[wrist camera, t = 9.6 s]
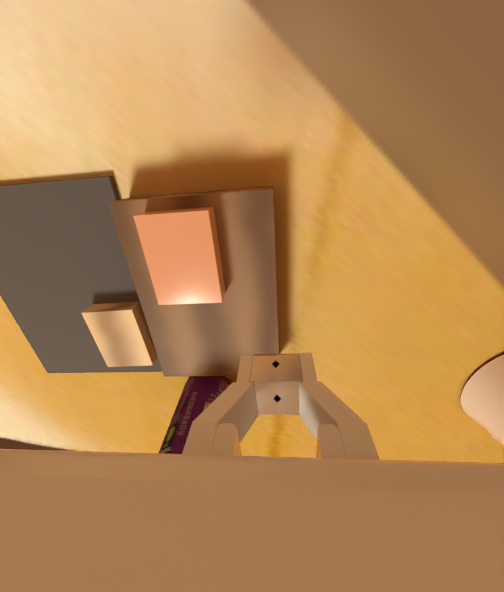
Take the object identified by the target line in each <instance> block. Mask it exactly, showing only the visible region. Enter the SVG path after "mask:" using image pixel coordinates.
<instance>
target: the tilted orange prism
mask: <svg viewBox="0 0 504 592" xmlns="http://www.w3.org/2000/svg"><path fill="white" fill-rule="evenodd" d="M133 217H134V220H135V224H136V227H137V231H138V234H139V238H140V241H141V245H142V248H143V252H144V255H145V259H146V262H147V266H148V269H149V273H150V276H151V280H152V283H153V287H154V290H155V294H156V297H157V301H158V304H159V305H171V304H197V303H222V302H223V299H224V296H225V293H226V292H225V285H224V278H223V270H222V263H221V256H220V249H219V242H218V235H217V228H216V221H215V214H214V207H205V208H191V209H178V210H164V211H151V212H143V213H140V214H137V215H134V216H133Z"/></svg>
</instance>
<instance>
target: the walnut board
mask: <svg viewBox="0 0 504 592" xmlns="http://www.w3.org/2000/svg"><path fill="white" fill-rule="evenodd" d="M108 205H109V208H110V211H111V214H112V217H113V220H114V223H115V226H116V229H117V232H118V235H119V238H120V242H121V245H122V248H123V251H124V254H125V257H126V260H127V263H128V266H129V269H130V272H131V275H132V279H133V282H134V285H135V288H136V291H137V294H138V297H139V300H140V303H141V306H142V309H143V312H144V316H145V319H146V322H147V325H148V328H149V331H150V334H151V337H152V340H153V343H154V346H155V349H156V352H157V356H158V359H159V362H160V365H161V368H162V371H163V374H164V376H237V375H238V369H239V364H240V359H241V355H242V354H279V341H278V312H277V283H276V253H275V224H274V195H273V187H261V188H248V189H236V190H223V191H211V192H198V193H186V194H174V195H161V196H149V197H136V198H127V199H122V200H116V201H111V202H108ZM205 207H214V214H215V221H216V228H217V235H218V242H219V249H220V256H221V263H222V270H223V278H224V285H225V292H226V293H225V296H224V299H223V302H222V303H197V304H171V305H159V304H158V301H157V297H156V294H155V290H154V287H153V283H152V280H151V276H150V273H149V269H148V266H147V262H146V259H145V255H144V252H143V248H142V245H141V241H140V238H139V234H138V231H137V227H136V224H135V220H134V217H133V216H134V215H137V214H140V213H143V212H151V211H164V210H178V209H191V208H205Z"/></svg>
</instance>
